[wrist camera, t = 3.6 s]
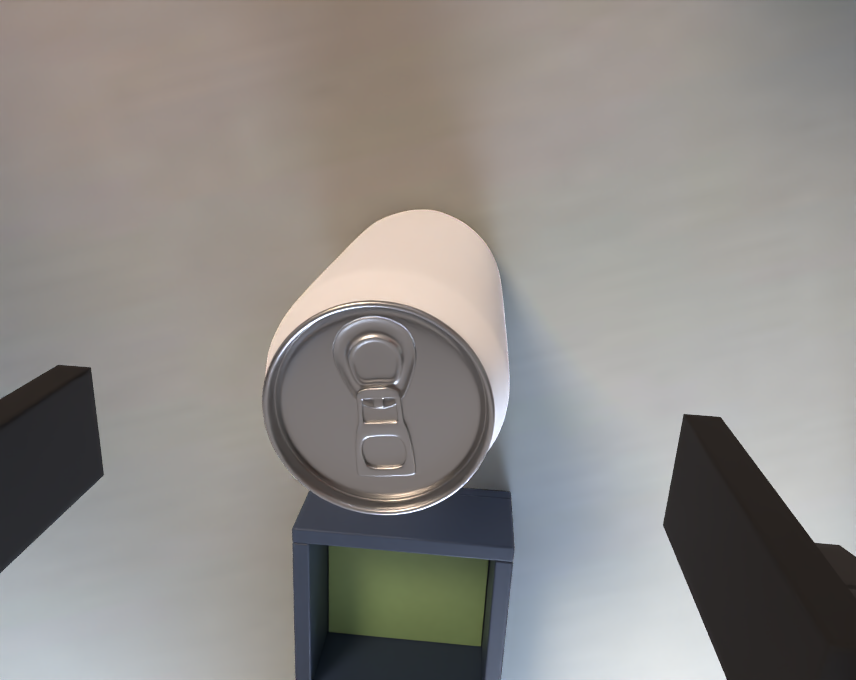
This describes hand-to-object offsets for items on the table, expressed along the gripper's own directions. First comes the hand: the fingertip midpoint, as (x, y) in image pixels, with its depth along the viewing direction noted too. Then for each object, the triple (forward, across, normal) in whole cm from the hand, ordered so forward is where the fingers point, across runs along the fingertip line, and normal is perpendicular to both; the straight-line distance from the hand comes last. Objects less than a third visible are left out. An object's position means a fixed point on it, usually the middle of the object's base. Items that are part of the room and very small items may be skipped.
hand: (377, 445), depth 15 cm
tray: (+13, 0, -17) cm, 22 cm away
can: (+13, 0, 0) cm, 13 cm away
